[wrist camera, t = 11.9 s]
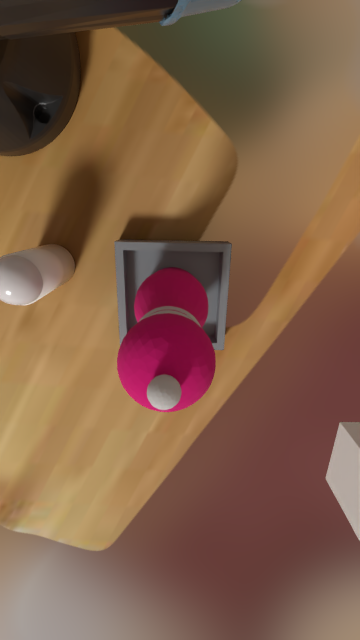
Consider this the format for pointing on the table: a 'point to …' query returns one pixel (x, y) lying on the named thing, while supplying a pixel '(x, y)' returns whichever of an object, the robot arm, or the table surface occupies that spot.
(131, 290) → the tray
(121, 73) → the table surface
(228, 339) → the table surface
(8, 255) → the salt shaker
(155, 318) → the pepper mill
